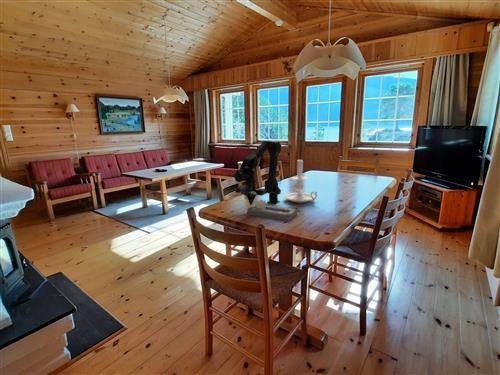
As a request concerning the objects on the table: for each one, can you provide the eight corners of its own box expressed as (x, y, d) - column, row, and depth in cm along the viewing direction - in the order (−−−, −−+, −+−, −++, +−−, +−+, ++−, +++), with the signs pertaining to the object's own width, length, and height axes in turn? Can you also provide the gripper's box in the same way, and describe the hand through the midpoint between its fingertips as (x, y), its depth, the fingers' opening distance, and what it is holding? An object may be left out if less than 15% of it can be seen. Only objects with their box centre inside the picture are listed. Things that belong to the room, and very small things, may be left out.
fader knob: (259, 207, 160) (259, 199, 159) (265, 208, 158) (265, 200, 157) (256, 209, 157) (256, 201, 156) (262, 210, 155) (262, 202, 154)
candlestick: (306, 209, 162) (307, 163, 156) (277, 200, 181) (277, 159, 175) (327, 202, 175) (328, 159, 168) (298, 195, 194) (298, 156, 187)
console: (257, 208, 166) (257, 203, 165) (297, 214, 153) (297, 208, 152) (247, 214, 156) (247, 208, 156) (288, 221, 143) (288, 215, 142)
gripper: (229, 180, 155) (230, 206, 159) (257, 183, 146) (257, 210, 149) (239, 177, 165) (240, 201, 168) (266, 179, 155) (267, 205, 158)
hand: (251, 204), depth 161 cm, fingers closed
